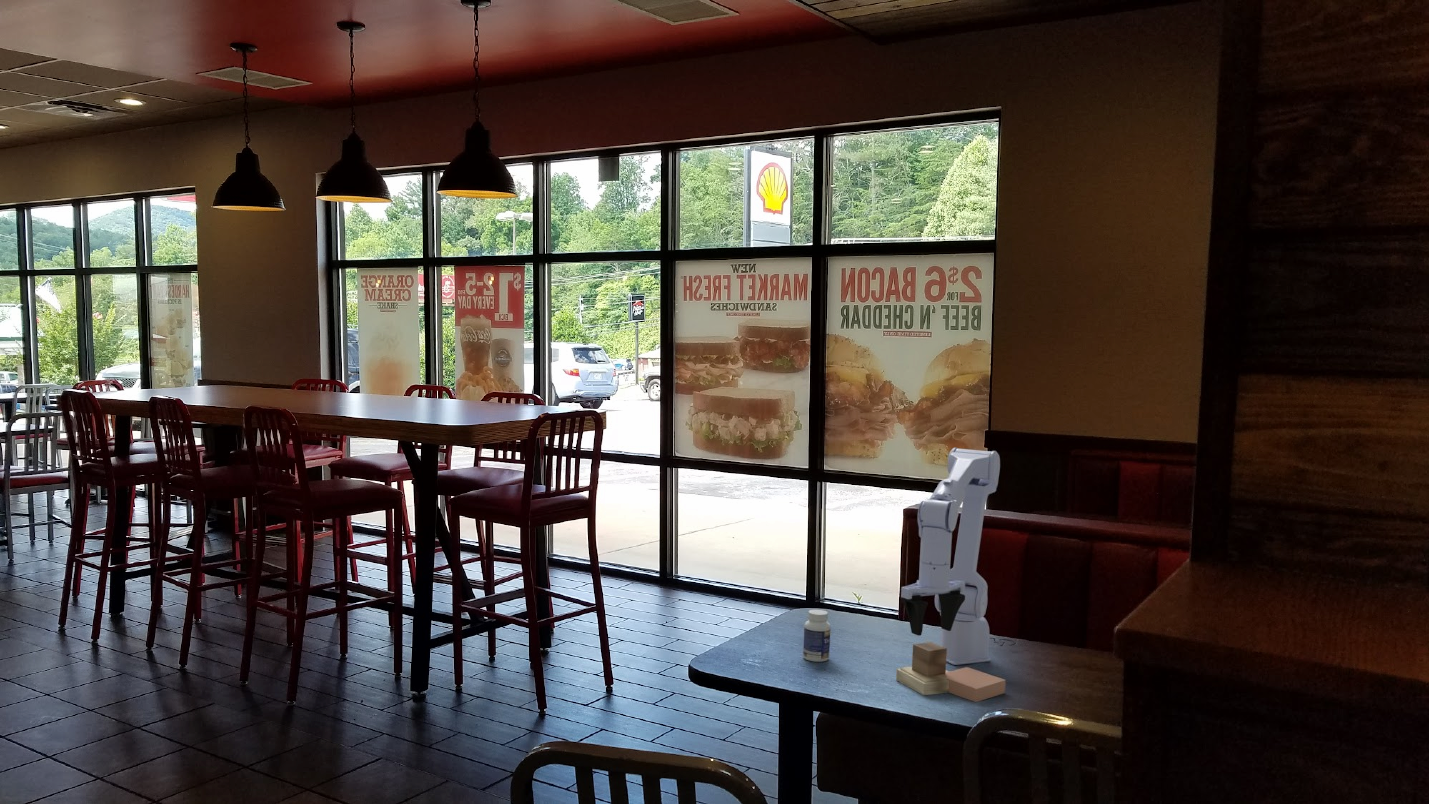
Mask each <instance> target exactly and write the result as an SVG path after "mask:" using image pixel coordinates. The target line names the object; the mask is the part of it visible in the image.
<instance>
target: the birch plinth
mask: <svg viewBox="0 0 1429 804" xmlns="http://www.w3.org/2000/svg"><path fill="white" fill-rule="evenodd" d="M947 672H950V671H949V670H947V669H946V673H947ZM951 678H953V677H951ZM895 680H896V681H897V682H899V683H901V684H902V685H905V686H906V687H908V688H910V689H911V690H913V691H915V692H917V693H918V694H920V695H921V696H929V695H938V694H944V693H949V681H948V680H947V678H944V677H941V676H939V675H937V676H931V677H926V676H924V675H922V674H920V673H918V672H915V671H913V670H912V666H905V667H900V668H896V676H895Z"/></svg>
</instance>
